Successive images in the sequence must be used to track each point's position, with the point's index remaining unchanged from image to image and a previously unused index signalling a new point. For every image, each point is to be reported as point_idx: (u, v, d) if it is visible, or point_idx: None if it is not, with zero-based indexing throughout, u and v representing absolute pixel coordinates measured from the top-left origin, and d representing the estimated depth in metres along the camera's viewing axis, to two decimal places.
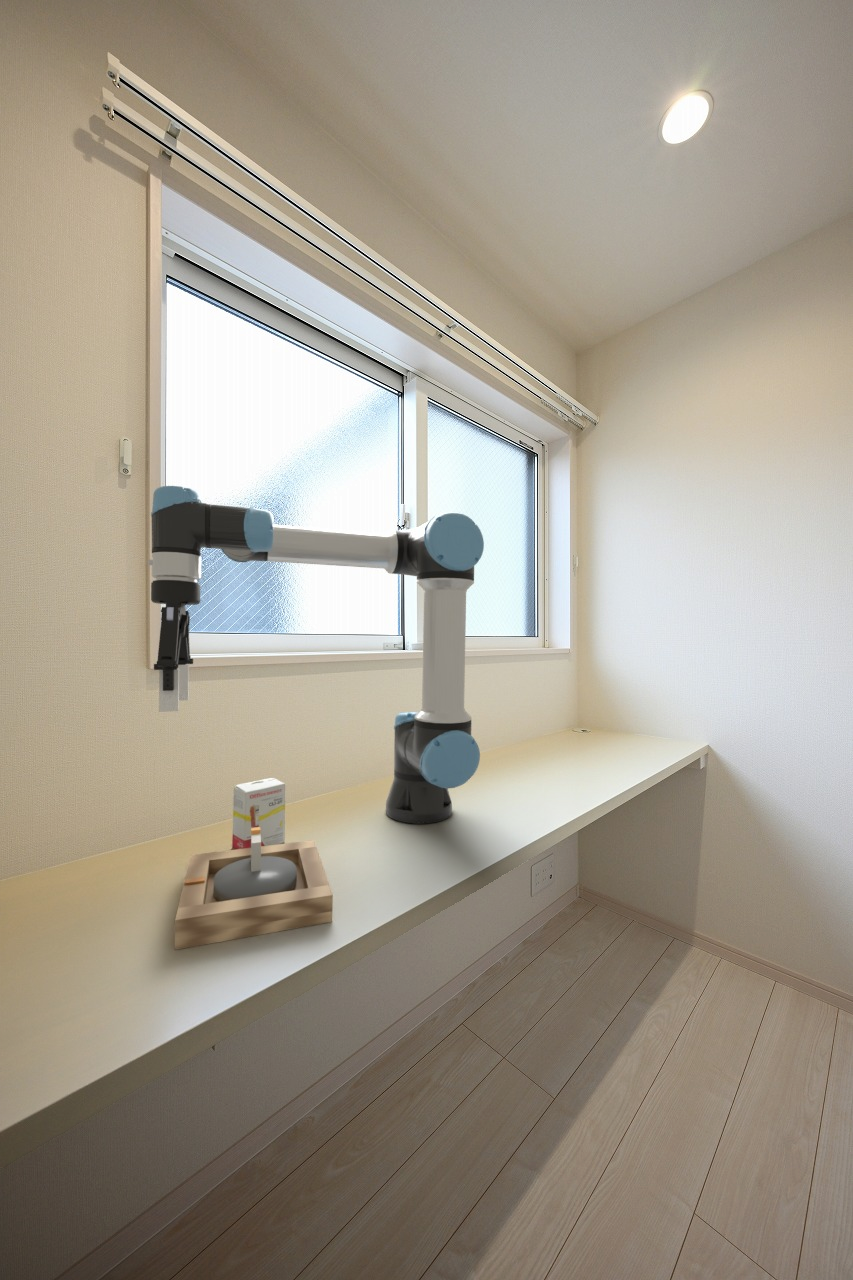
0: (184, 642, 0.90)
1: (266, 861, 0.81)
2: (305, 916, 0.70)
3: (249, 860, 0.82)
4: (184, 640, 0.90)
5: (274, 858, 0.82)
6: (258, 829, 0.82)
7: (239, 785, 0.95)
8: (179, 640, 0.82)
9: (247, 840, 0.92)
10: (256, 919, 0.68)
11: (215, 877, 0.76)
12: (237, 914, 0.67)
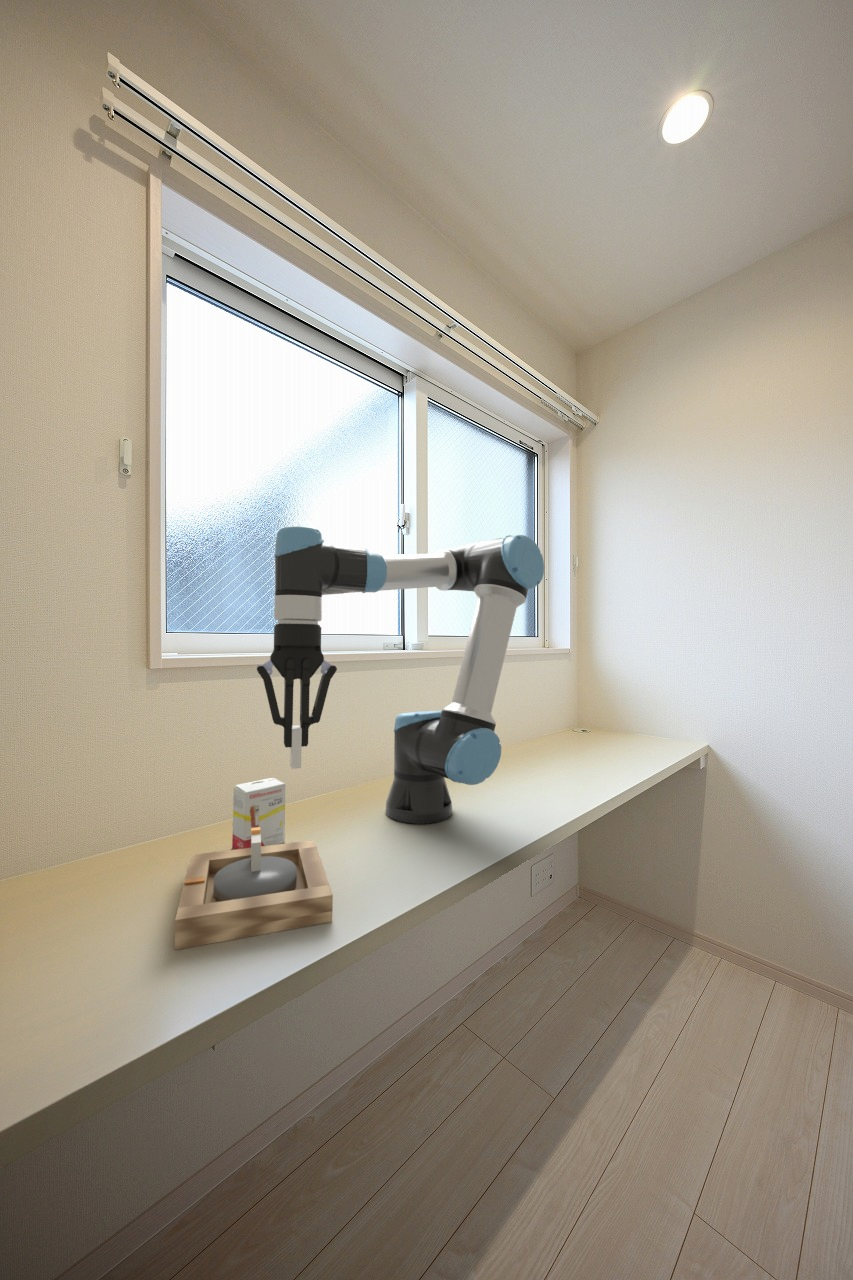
0: (301, 692, 0.82)
1: (266, 861, 0.81)
2: (305, 916, 0.70)
3: (249, 860, 0.82)
4: (301, 689, 0.82)
5: (274, 858, 0.82)
6: (258, 829, 0.82)
7: (239, 785, 0.95)
8: (285, 695, 0.81)
9: (247, 840, 0.92)
10: (256, 919, 0.68)
11: (215, 877, 0.76)
12: (237, 914, 0.67)
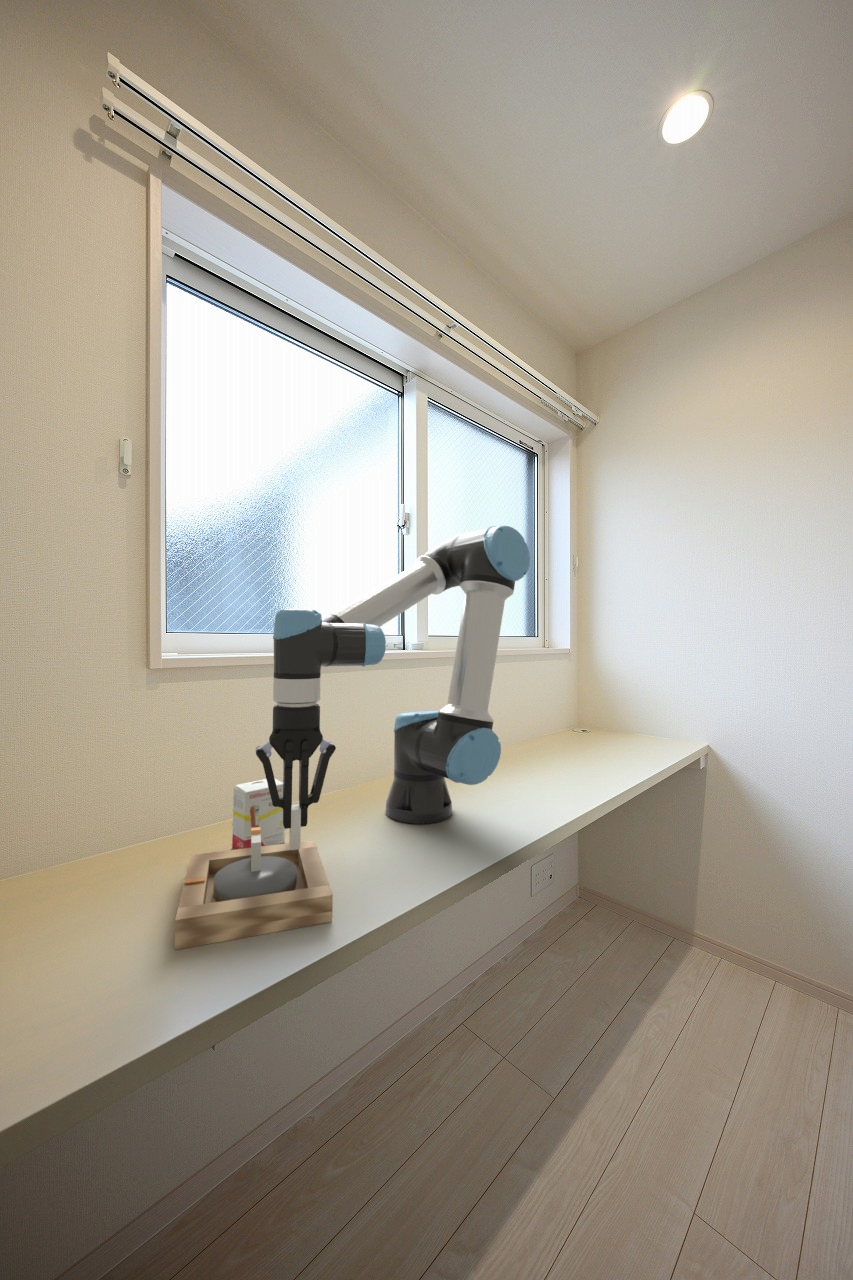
0: (300, 773, 0.83)
1: (266, 861, 0.81)
2: (305, 916, 0.70)
3: (249, 860, 0.82)
4: (300, 770, 0.82)
5: (274, 858, 0.82)
6: (258, 829, 0.82)
7: (239, 785, 0.95)
8: (284, 777, 0.81)
9: (247, 840, 0.92)
10: (256, 919, 0.68)
11: (215, 877, 0.76)
12: (237, 914, 0.67)
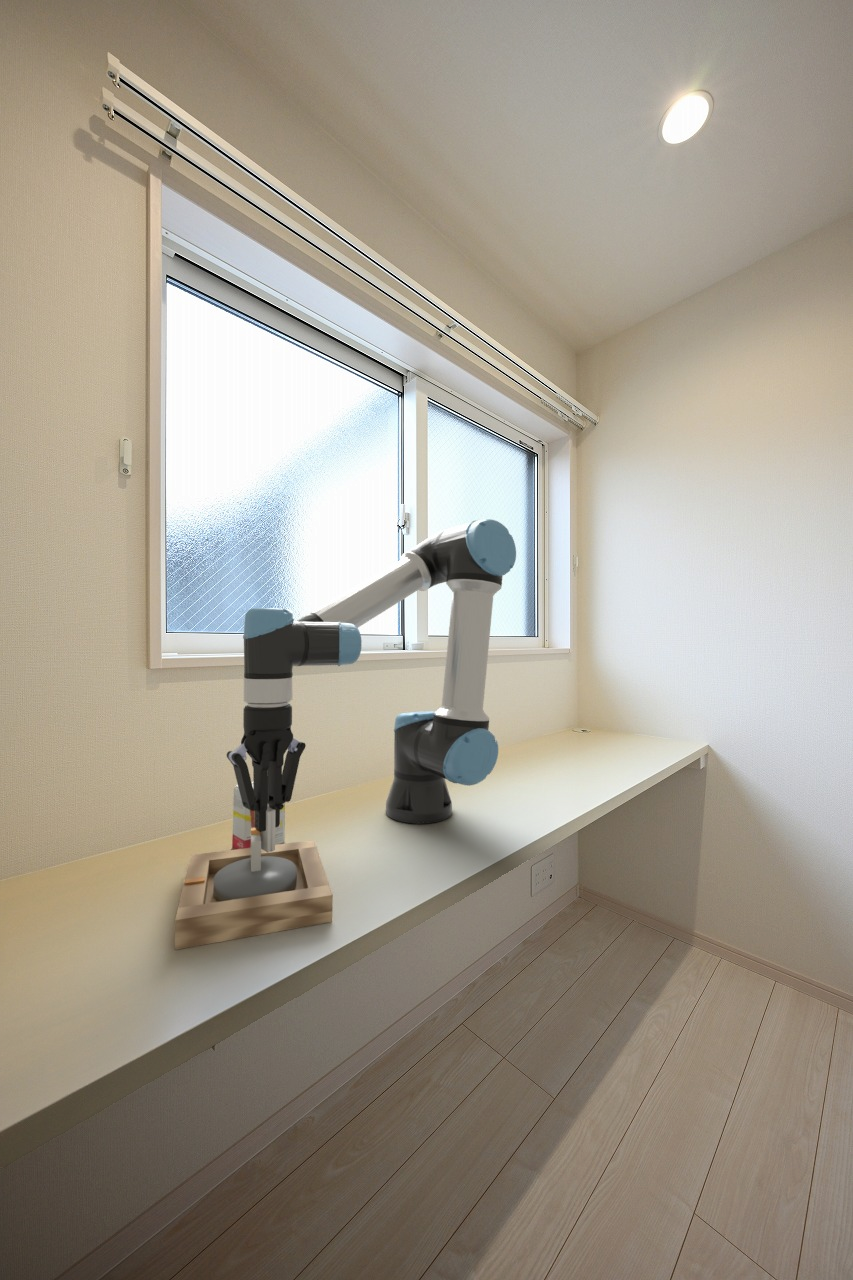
0: (274, 774, 0.82)
1: (266, 861, 0.81)
2: (305, 916, 0.70)
3: (249, 860, 0.82)
4: (274, 771, 0.82)
5: (274, 858, 0.82)
6: None
7: None
8: (260, 779, 0.80)
9: (247, 840, 0.92)
10: (256, 919, 0.68)
11: (215, 877, 0.76)
12: (237, 914, 0.67)
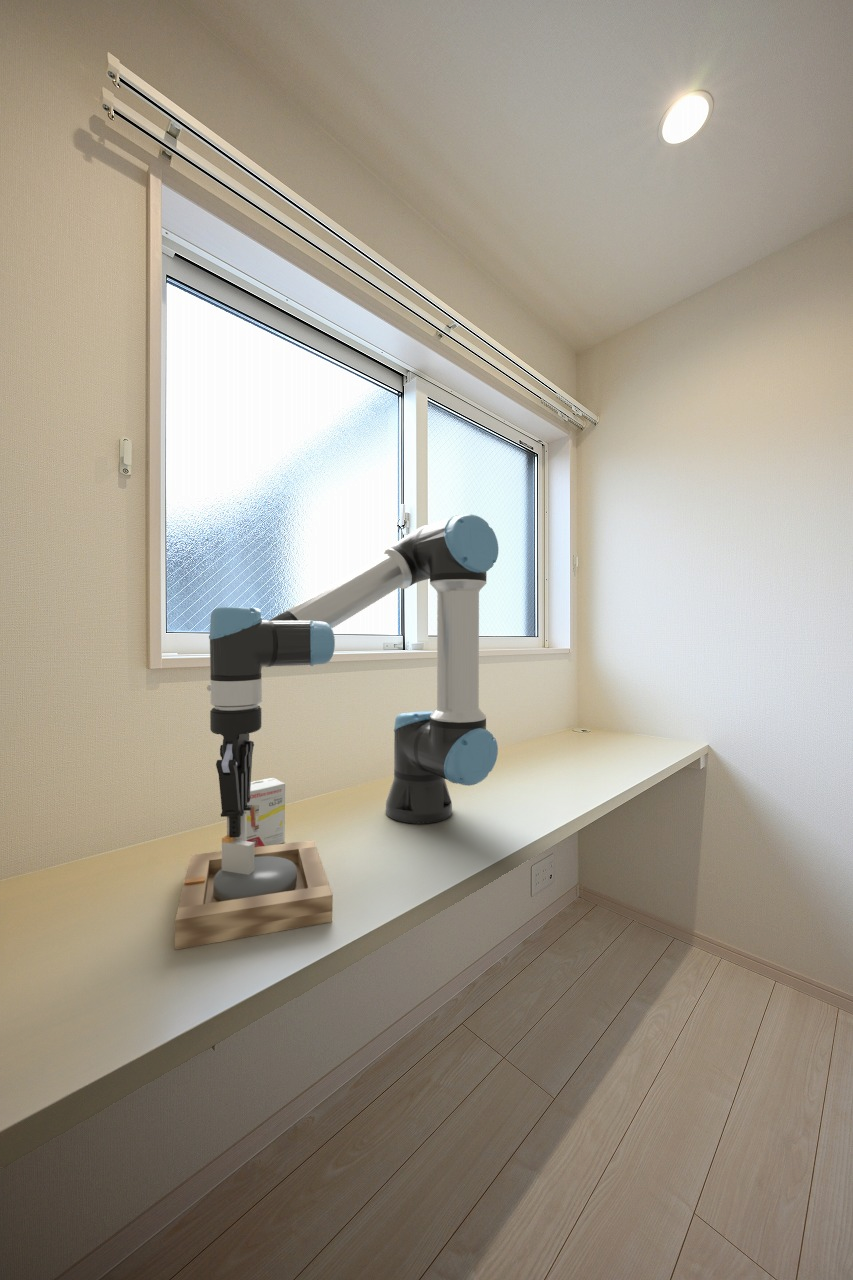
0: (243, 776, 0.80)
1: None
2: (305, 916, 0.70)
3: (223, 871, 0.78)
4: (243, 773, 0.80)
5: None
6: None
7: None
8: (241, 783, 0.78)
9: (247, 840, 0.92)
10: (256, 919, 0.68)
11: (229, 891, 0.72)
12: (237, 914, 0.67)
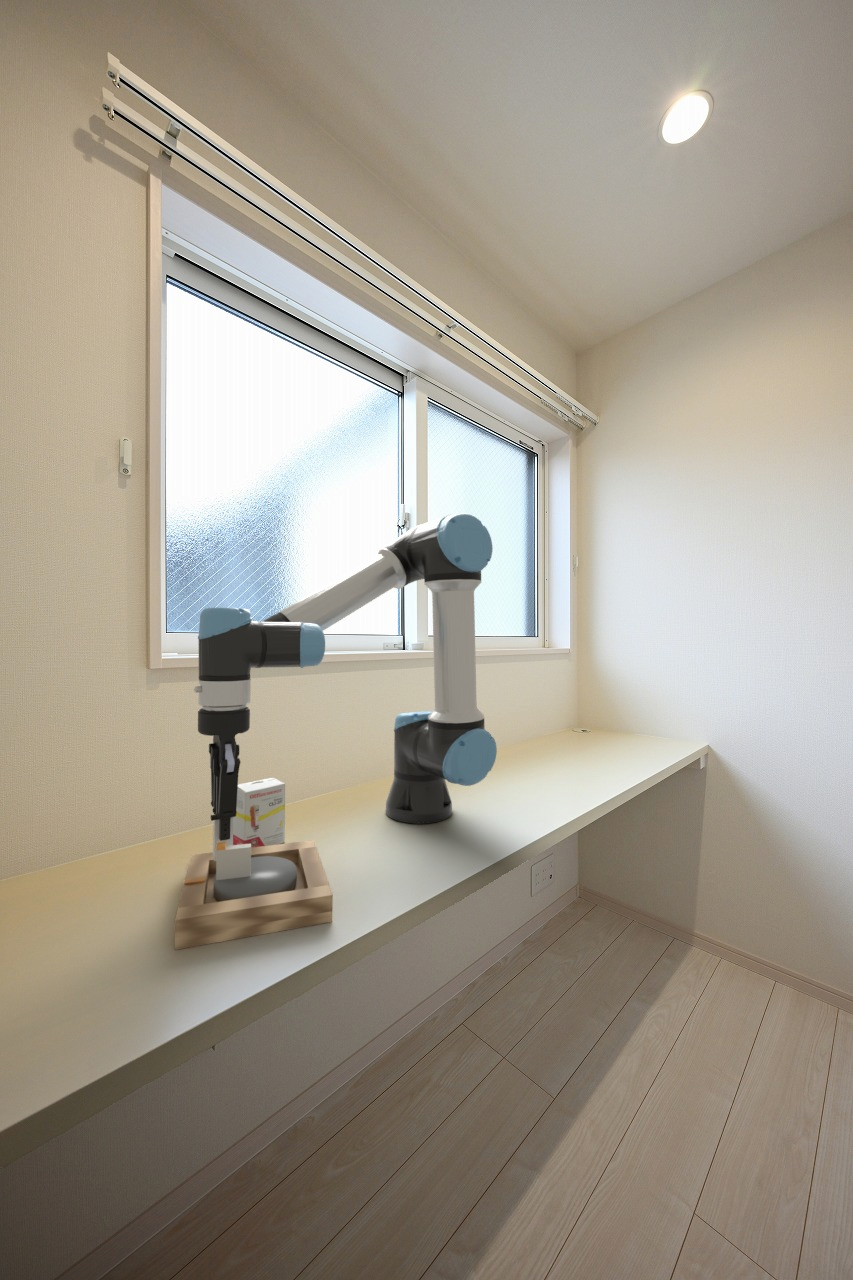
0: None
1: None
2: (305, 916, 0.70)
3: (219, 880, 0.75)
4: None
5: None
6: (224, 843, 0.76)
7: (239, 785, 0.95)
8: None
9: (247, 840, 0.92)
10: (256, 919, 0.68)
11: (251, 892, 0.71)
12: (237, 914, 0.67)
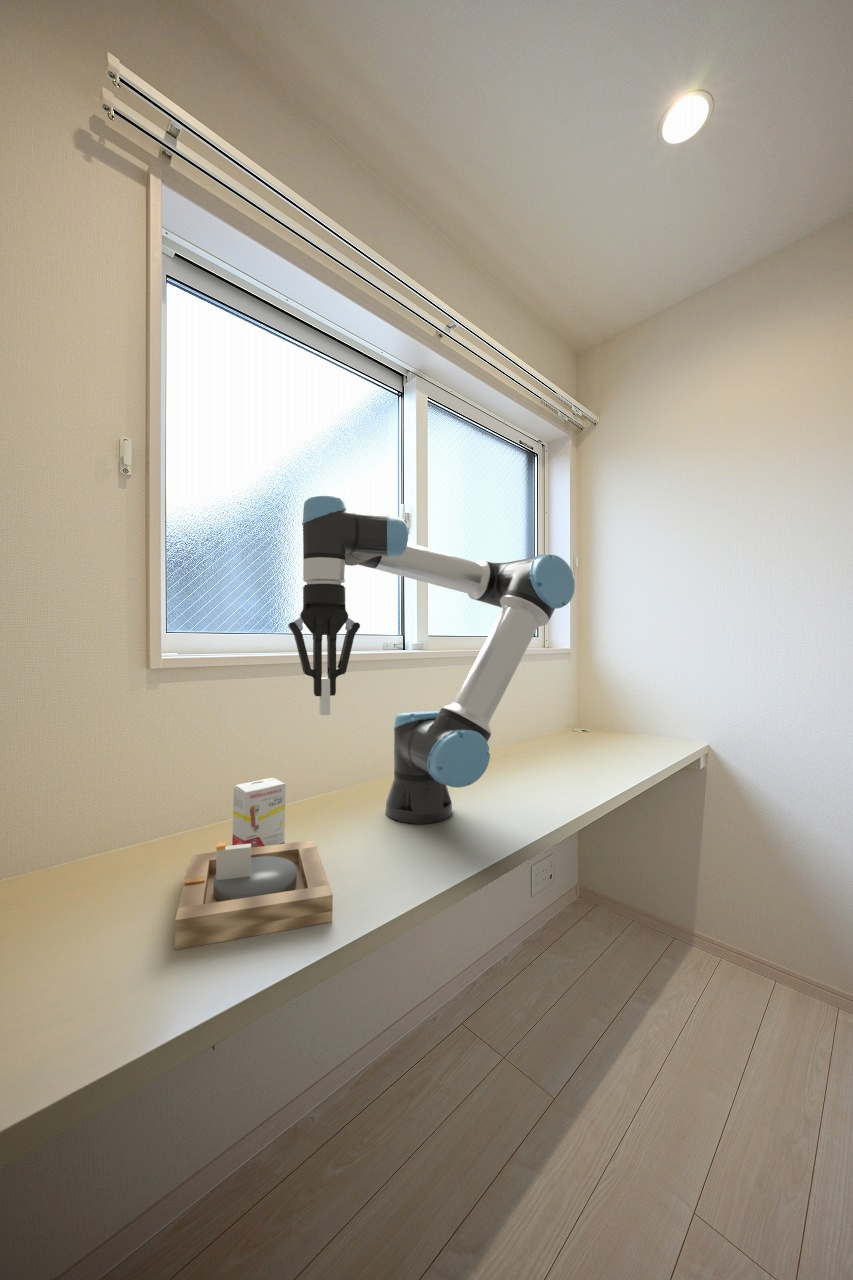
0: (329, 646, 0.91)
1: None
2: (305, 916, 0.70)
3: (219, 880, 0.75)
4: (329, 644, 0.91)
5: None
6: (224, 843, 0.76)
7: (239, 785, 0.95)
8: (315, 649, 0.90)
9: (247, 840, 0.92)
10: (256, 919, 0.68)
11: (250, 892, 0.71)
12: (237, 914, 0.67)
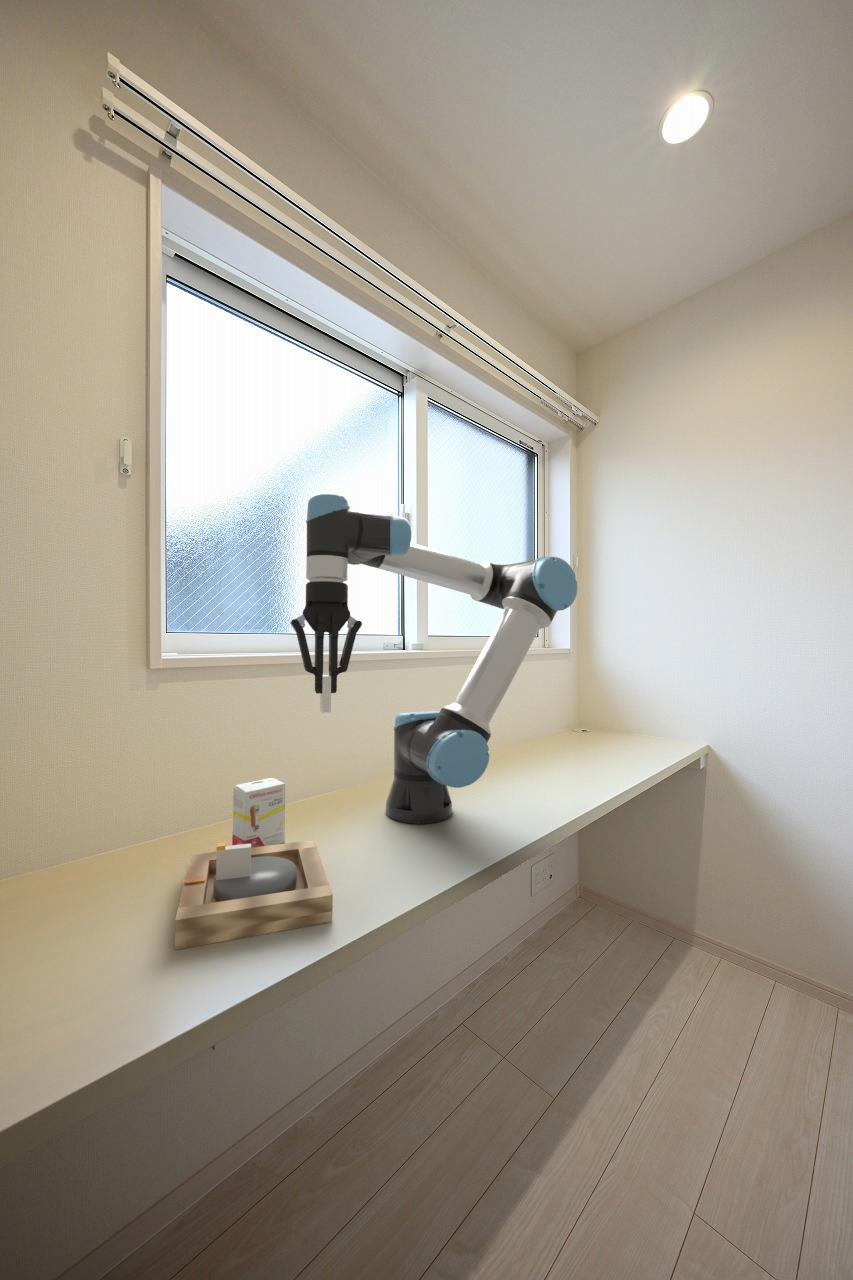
0: (330, 644, 0.92)
1: None
2: (305, 916, 0.70)
3: (219, 880, 0.75)
4: (330, 641, 0.92)
5: None
6: (224, 843, 0.76)
7: (239, 785, 0.95)
8: (316, 646, 0.90)
9: (247, 840, 0.92)
10: (256, 919, 0.68)
11: (250, 892, 0.71)
12: (237, 914, 0.67)
